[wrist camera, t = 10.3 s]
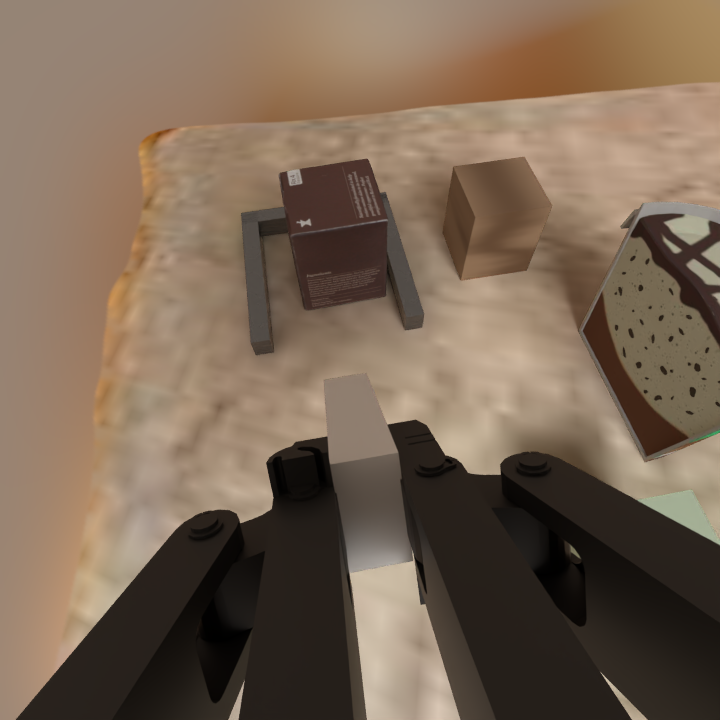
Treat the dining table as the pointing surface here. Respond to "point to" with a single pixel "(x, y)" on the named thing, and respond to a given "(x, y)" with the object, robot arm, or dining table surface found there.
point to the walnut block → (494, 217)
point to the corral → (257, 293)
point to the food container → (662, 326)
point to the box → (336, 232)
